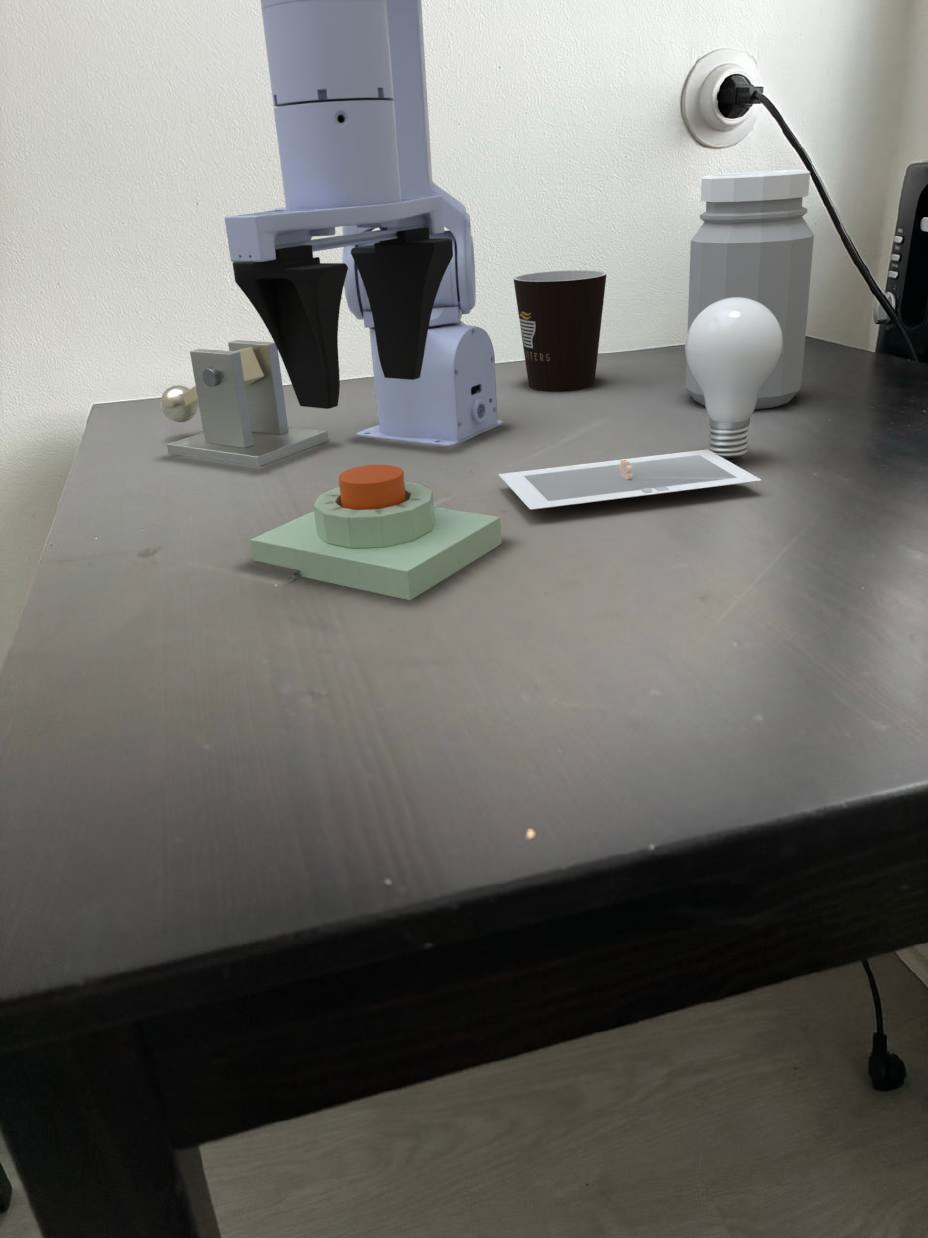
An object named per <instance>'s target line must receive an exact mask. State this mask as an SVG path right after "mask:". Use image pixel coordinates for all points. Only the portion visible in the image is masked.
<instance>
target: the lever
mask: <svg viewBox="0 0 928 1238" xmlns="http://www.w3.org/2000/svg"><path fill="white" fill-rule="evenodd" d="M237 352H240V356H241V363H242V369H243V376H244V383H245V387H246V386H248V385H249V384H251V383H253V382H255V381H256V380H258V379H260V378H262V377H264V374H263V372H262V370H261V367H260V365H259V363H258V361H257V358H256V356H255V354H254V352H253V349H252V347H249V348H245V349H241V350H237ZM160 408H161V411H162V413H163V414H164V415H165V417H166V418H167V419H168V420H170V421H172V422H175V423H186V422H189V421H190V420H192V419H193V418H194V417H195V416H196V414H197V413H198V410H199V403H198V397H197V391H196V385H194V386H192V387H191V388H189V387H188V386H185V385H171V386H170V387H168V388H166V390H164V392H163V393H162V395H161V397H160Z"/></svg>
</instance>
